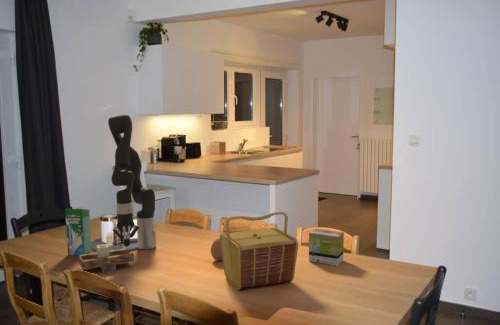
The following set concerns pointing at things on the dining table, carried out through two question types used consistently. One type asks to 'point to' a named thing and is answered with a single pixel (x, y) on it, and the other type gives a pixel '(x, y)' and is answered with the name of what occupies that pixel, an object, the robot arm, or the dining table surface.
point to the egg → (216, 250)
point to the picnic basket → (258, 254)
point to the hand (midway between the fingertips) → (126, 246)
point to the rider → (102, 251)
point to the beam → (106, 260)
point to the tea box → (326, 246)
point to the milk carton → (78, 231)
